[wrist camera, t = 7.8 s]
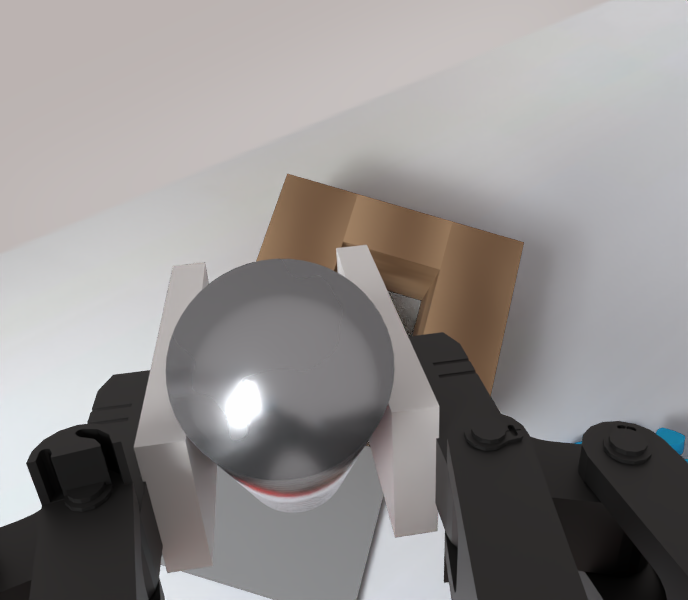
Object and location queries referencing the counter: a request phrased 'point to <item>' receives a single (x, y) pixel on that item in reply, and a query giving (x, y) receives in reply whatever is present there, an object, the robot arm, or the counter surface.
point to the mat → (295, 540)
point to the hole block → (407, 260)
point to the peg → (281, 378)
